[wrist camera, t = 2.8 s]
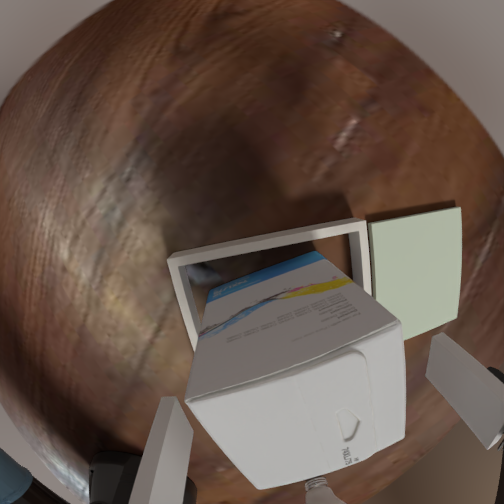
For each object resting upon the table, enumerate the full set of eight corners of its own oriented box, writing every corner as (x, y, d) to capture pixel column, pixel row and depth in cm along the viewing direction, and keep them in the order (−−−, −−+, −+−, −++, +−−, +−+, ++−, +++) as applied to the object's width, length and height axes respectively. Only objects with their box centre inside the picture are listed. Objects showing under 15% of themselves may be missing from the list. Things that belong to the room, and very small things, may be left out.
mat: (372, 347, 22) (375, 350, 21) (367, 223, 19) (371, 224, 19) (453, 315, 22) (456, 317, 21) (456, 206, 19) (460, 207, 19)
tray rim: (217, 396, 22) (216, 411, 20) (173, 252, 19) (166, 259, 17) (361, 364, 22) (370, 376, 20) (354, 217, 19) (365, 220, 17)
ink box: (206, 288, 20) (176, 398, 8) (317, 247, 19) (408, 314, 8) (248, 376, 21) (257, 494, 10) (343, 341, 21) (409, 440, 10)
